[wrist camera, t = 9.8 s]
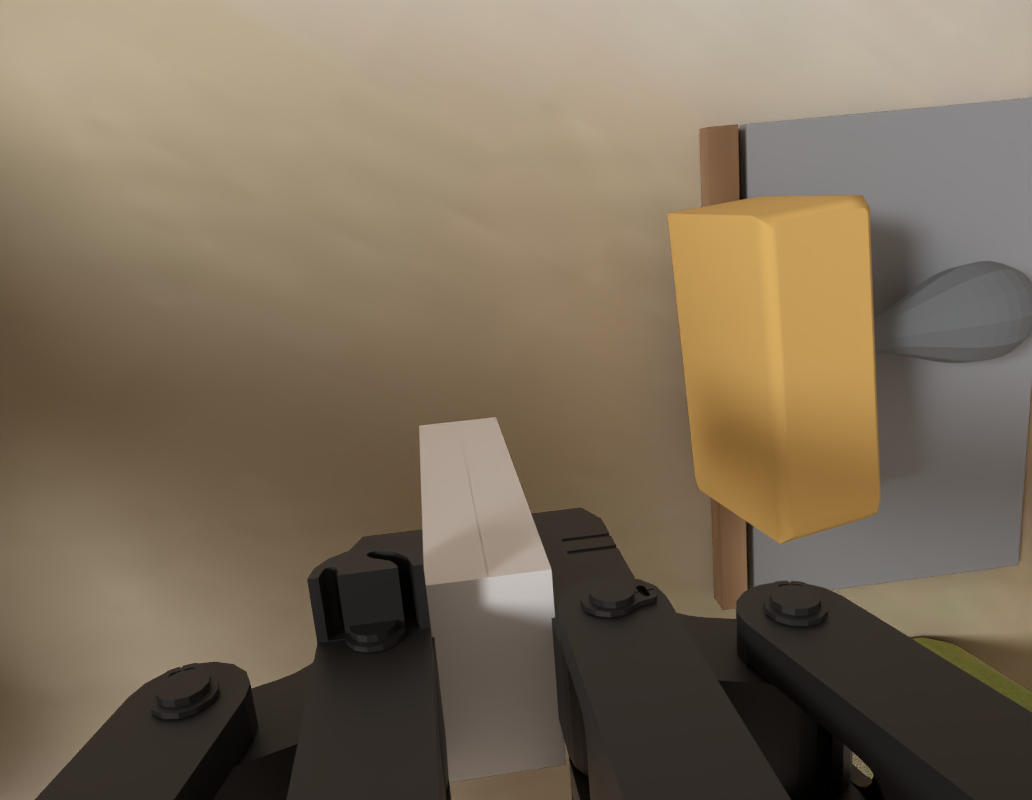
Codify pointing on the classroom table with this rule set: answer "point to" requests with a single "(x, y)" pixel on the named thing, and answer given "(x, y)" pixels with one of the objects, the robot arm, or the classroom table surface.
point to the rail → (726, 526)
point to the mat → (907, 380)
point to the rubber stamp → (810, 351)
